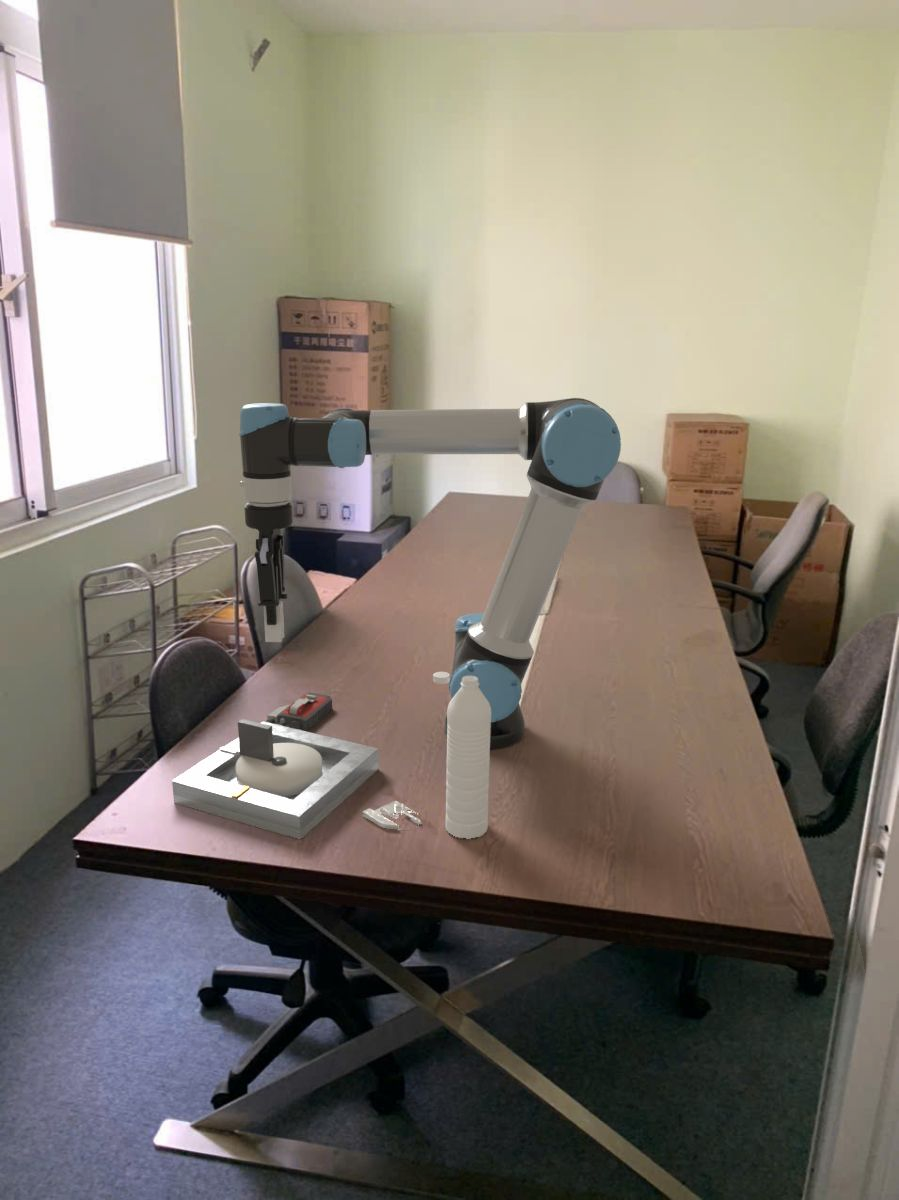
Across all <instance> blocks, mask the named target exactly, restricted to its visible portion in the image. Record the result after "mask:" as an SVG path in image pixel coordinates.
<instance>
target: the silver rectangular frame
mask: <svg viewBox="0 0 899 1200" xmlns="http://www.w3.org/2000/svg"><path fill="white" fill-rule="evenodd" d="M260 723H261V724H265V725H270V726H272V734H273V744H274V743H297V744H302V745H306V746H309V747H311V748H313V749H315V750H316V751H318V752H319V753H320V755H321V757H322V776H321V777H320V778H319V779H318V780H317V781H315V782H314V783H313V784H312V785H310V786H309V787H308V788H307V789H306V790H304V791H303V792H302V793H299V794H296V795H292V796H287V797H281V796H277V795H273V794H270V793H266V792H262V791H259V790H255V789H251V788H249V787H248V786H240V785H238V784H237V779H236V763H237V760H238V759H239V758H240V757H241V756H242V755H240V748H239V736H238V737H236V738H235V739H233V741H231V742H229V743H228V744H225V746H221V747H219V749H218V750H217V751H216V752H214V753H212V754H211V755H209V756H207V757H206V758H205V759H202V760H201V761H199V762H198V763H196V765H194V766H192V767H191V768H190V769H188V770H186V771H185V772H184V773H182V774H179V776H177V777H176V778H174V779H172V781H171V782H172V783H171V785H172V793H173V794H172V795H173V803H174V804H176V805H180V806H184V807H187V808H191V809H193V808H194V809H193V810H197V809H198V811H200V810H201V812H203V811H204V813H208V814H210V813H211V815H214V816H217V817H221V818H225V819H228V820H232V821H235V822H239V823H242V824H244V823H245V824H244V825H248V824H249V825H248V826H251V825H252V827H255V826H256V828H258V827H259V829H261V828H262V830H265V829H266V831H268V830H269V832H272V833H275V832H276V833H275V834H278V833H279V835H282V836H285V835H286V836H287V837H289V836H290V837H289V838H292V837H293V839H295V838H297V839H296V840H299V839H301V838H302V839H303V838H304V837H306V835H307V834H308V832H309V833H310V832H311V831H312V830H313V829H314V828H315V827H316V826H317V825H318V824H319V823H321V822H322V821H323V820H324V819H325V818H326V817H327V816H329V814H331V813H332V812H333V811H334V810H335V809H336V808H338V806H340V805H341V804H342V803H343V802H345V800H347V798H349V796H351V795H352V794H353V793H354V792H356V790H357V789H358V788H360V787H361V786H362V785H363V784H364V783H365V782H366V781H367V780H368V779H370V778H371V777H372V776H373V775H374V774H375V773H376V772H377V771H379V748H377V747H374V746H369V745H365V744H361V743H357V742H353V741H348V740H344V739H339V738H336V737H332V736H327V735H323V734H319V733H314V732H310V731H302V730H298V729H293V728H289V727H285V726H281V725H276V724H272V723H268V722H266V721H261V722H260ZM310 830H311V831H310ZM286 836H285V837H286ZM302 839H301V840H302Z"/></svg>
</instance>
